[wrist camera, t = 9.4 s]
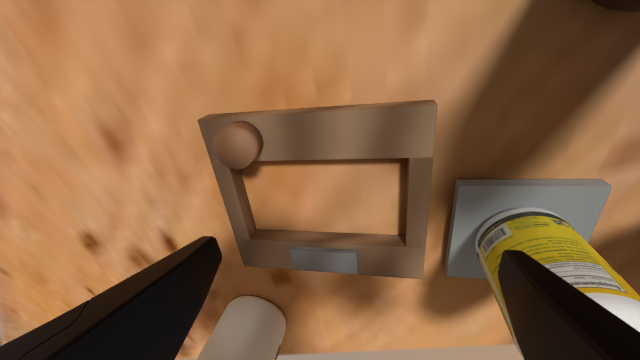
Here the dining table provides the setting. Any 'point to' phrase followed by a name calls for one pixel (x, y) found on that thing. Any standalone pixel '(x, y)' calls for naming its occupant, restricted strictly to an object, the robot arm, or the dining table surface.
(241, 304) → the milk bottle
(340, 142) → the wooden frame
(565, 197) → the grey pad
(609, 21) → the dining table surface
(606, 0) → the dark brown bottle
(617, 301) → the pill bottle
